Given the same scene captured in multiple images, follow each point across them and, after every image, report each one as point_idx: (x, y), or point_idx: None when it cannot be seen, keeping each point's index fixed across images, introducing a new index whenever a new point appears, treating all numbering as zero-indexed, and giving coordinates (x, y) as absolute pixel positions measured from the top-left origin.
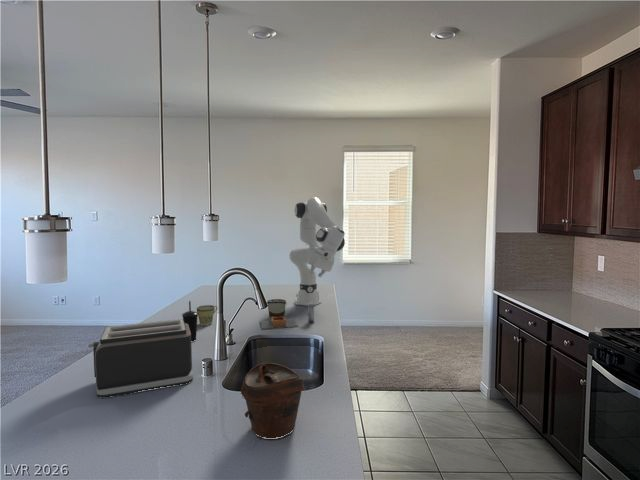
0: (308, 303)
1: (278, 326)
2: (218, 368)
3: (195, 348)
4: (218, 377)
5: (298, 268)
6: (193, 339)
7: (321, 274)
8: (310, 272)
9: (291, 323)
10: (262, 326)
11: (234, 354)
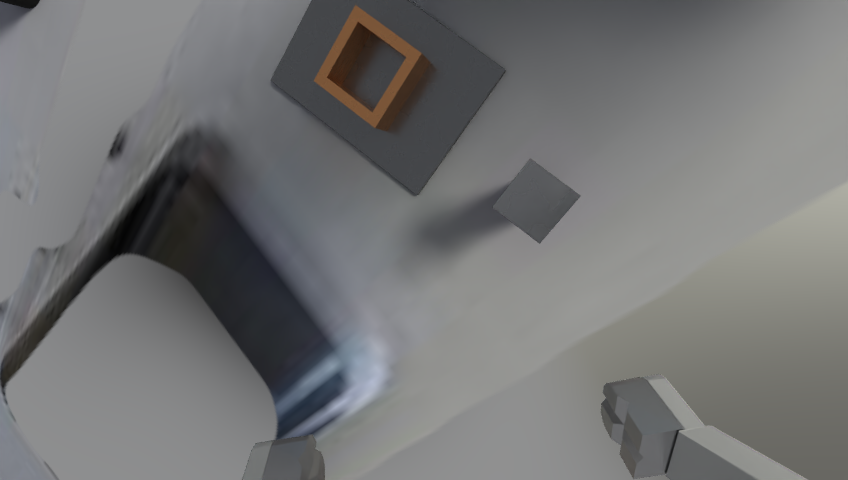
0: (518, 187)
1: (345, 117)
2: (19, 287)
3: (18, 87)
4: (5, 330)
5: None
6: (19, 5)
7: (640, 477)
8: (257, 467)
9: (429, 130)
10: (293, 50)
11: (79, 240)
